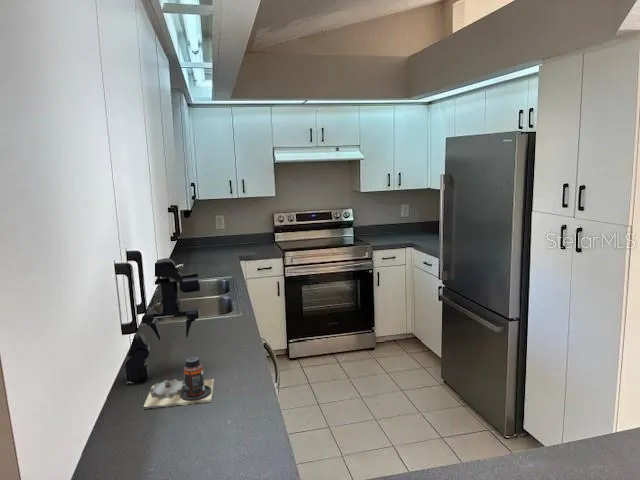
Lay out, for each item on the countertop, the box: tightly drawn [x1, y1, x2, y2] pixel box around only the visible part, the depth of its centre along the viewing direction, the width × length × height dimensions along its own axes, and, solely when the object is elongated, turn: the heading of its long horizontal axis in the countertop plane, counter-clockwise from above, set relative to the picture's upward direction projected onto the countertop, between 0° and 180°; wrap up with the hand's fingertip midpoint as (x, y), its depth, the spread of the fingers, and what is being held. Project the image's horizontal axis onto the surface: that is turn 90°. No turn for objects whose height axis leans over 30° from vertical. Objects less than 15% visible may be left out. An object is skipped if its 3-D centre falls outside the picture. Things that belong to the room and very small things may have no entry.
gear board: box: [143, 378, 215, 407], centre depth 153 cm, size 20×14×4 cm
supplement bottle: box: [183, 356, 205, 397], centre depth 151 cm, size 6×6×11 cm
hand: (173, 338), depth 168 cm, fingers open, 9 cm apart
